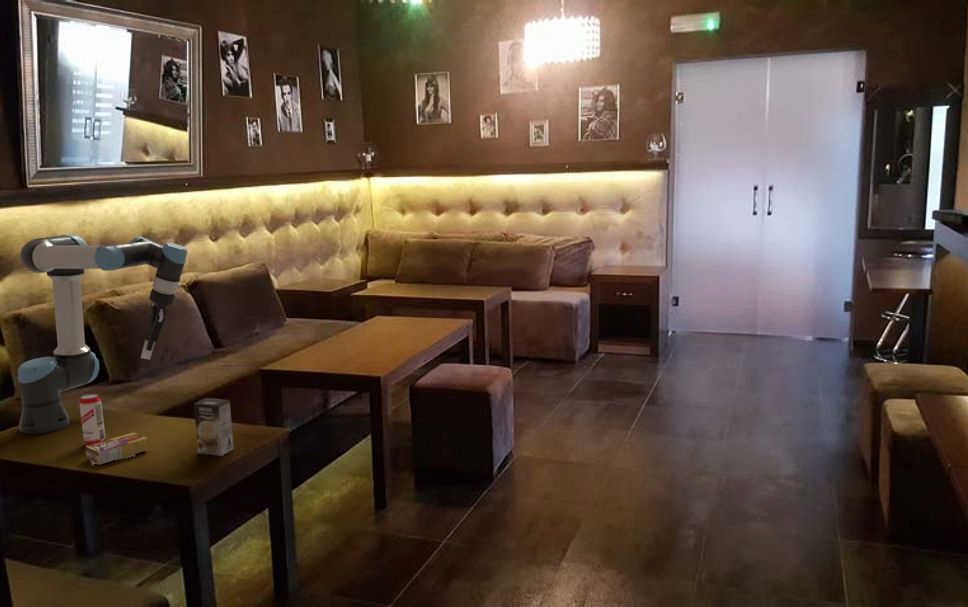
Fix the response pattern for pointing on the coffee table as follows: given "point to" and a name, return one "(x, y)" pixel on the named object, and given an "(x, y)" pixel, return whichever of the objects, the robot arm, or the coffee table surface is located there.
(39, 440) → the coffee table surface
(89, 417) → the beer can
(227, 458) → the coffee table surface
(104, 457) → the candy box
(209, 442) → the coffee box
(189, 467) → the coffee table surface
